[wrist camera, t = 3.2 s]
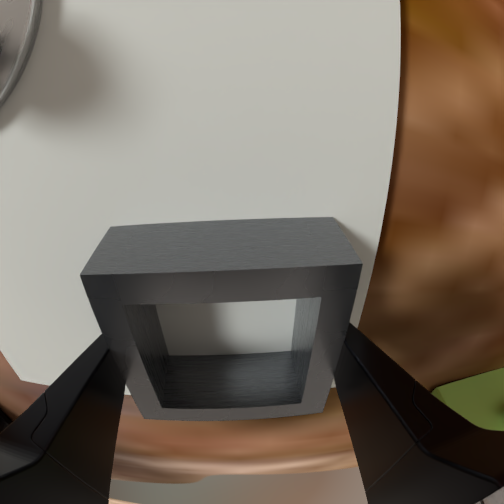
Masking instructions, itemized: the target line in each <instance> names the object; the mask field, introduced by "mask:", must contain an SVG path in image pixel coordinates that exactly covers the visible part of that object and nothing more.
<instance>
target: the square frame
mask: <svg viewBox="0 0 504 504" xmlns="http://www.w3.org/2000/svg"><path fill="white" fill-rule="evenodd" d="M362 266H363V263H362V261H361V260H360V258H359V256H358V255H357V253H356V252H355V250H354V249H353V247H352V245H351V244H350V242H349V241H348V239H347V238H346V236H345V234H344V233H343V231H342V230H341V228H340V227H339V225H338V224H337V222H336V221H335V219H334V218H333V217H304V218H267V219H239V220H215V221H194V222H174V223H157V224H140V225H125V226H111V227H110V228H109V229H108V231H107V232H106V234H105V235H104V237H103V238H102V240H101V241H100V243H99V245H98V246H97V248H96V249H95V251H94V252H93V254H92V256H91V257H90V259H89V260H88V262H87V264H86V265H85V267H84V268H83V270H82V272H81V273H80V278H81V280H82V283H83V286H84V289H85V292H86V294H87V297H88V300H89V302H90V305H91V308H92V310H93V313H94V315H95V318H96V320H97V323H98V325H99V327H100V330H101V332H102V335H103V337H104V339H105V342H106V344H107V346H108V348H109V349H110V351H111V353H112V356H113V358H114V360H115V362H116V364H117V366H118V368H119V370H120V373H121V375H122V377H123V379H124V381H125V383H126V386H127V388H128V390H129V392H130V394H131V395H132V397H133V399H134V401H135V403H136V405H137V407H138V408H139V410H140V412H141V414H142V416H143V417H144V419H157V420H182V421H223V420H249V419H265V418H277V417H288V416H297V415H306V414H314V413H321V412H323V409H324V406H325V403H326V400H327V397H328V394H329V391H330V388H331V385H332V382H333V378H334V373H335V369H336V366H337V363H338V359H339V356H340V352H341V349H342V345H343V342H344V341H345V337H346V333H347V329H348V326H349V322H350V318H351V314H352V310H353V306H354V302H355V297H356V293H357V289H358V284H359V280H360V275H361V271H362ZM286 299H296V308H295V318H294V327H293V336H292V345H291V351H282V352H268V353H251V354H229V355H169V353H168V350H167V346H166V343H165V339H164V336H163V332H162V328H161V325H160V321H159V317H158V313H157V309H156V305H155V304H196V303H226V302H249V301H269V300H286Z"/></svg>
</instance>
